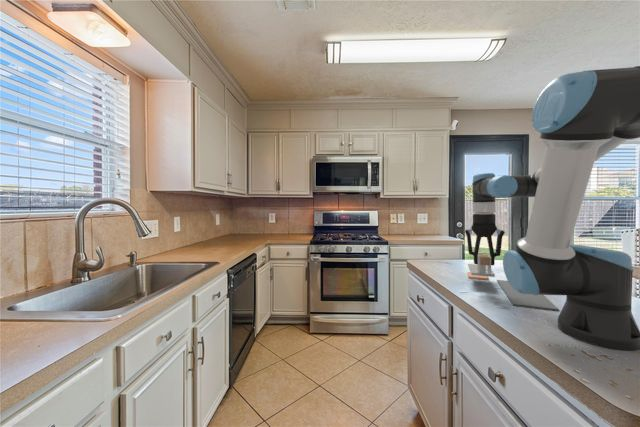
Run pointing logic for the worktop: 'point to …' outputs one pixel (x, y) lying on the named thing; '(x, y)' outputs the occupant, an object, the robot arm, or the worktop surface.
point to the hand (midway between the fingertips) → (483, 272)
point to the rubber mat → (526, 298)
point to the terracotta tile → (477, 277)
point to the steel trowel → (481, 266)
